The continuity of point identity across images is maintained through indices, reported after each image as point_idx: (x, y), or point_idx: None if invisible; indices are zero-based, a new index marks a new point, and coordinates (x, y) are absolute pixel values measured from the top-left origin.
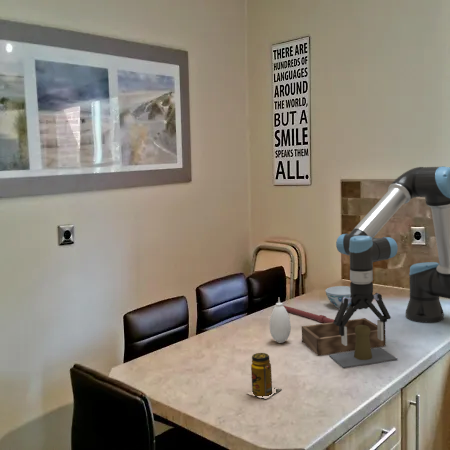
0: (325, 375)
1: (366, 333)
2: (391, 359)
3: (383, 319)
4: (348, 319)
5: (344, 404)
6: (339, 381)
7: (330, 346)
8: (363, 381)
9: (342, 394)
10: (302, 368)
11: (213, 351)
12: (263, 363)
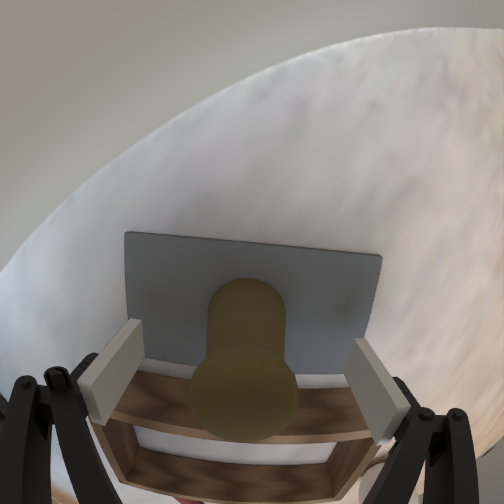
0: (452, 230)
1: (246, 351)
2: (151, 234)
3: (64, 393)
4: (403, 454)
5: (467, 54)
6: (442, 163)
7: (336, 407)
8: (378, 114)
9: (461, 90)
10: (464, 310)
11: (484, 429)
12: None
